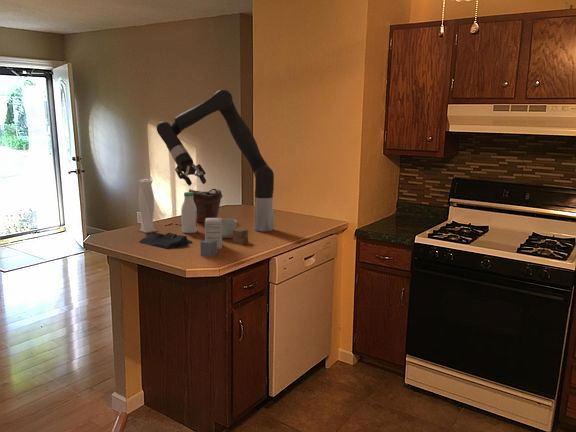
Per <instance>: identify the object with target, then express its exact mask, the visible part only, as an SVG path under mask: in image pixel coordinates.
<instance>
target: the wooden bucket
mask: <svg viewBox="0 0 576 432" xmlns="http://www.w3.org/2000/svg"><path fill="white" fill-rule="evenodd" d="M188 192H193V194H194V195H193V196H194V197H193V200H194V203H195V205H196V208H197V223H205V219H206V218H218V215H219V210H220V206H221V200H222V198H223V194H222V190H221V189H216V188H212V189H210V190H209V191H200V190H193V189H191V188H189V189H188Z"/></svg>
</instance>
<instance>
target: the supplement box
mask: <svg viewBox="0 0 576 432" xmlns="http://www.w3.org/2000/svg"><path fill="white" fill-rule="evenodd" d="M222 219H223V218H222V217H217V218H206V219H205V222H204V240H206V239H209V240H216V241H217V250H218V249H219V250H220V249H222V247H223V238H222Z"/></svg>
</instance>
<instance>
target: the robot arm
mask: <svg viewBox="0 0 576 432" xmlns="http://www.w3.org/2000/svg"><path fill="white" fill-rule="evenodd" d="M218 111H219V112H220V114H221V116H222V117H223V118H224V120H225V122H226V124H227V127H228V129H229V132H230V134H231V136H232V138H233V141H234V142H235V144H236V145H237V147H238V149H239V150H240V151H241V153H242V154H243V156H244V158H245V159H246V160H247V161H248V163H249V165H250V167H251V170H252V172H253V174H254V178H255V183H254V184H255V189H254V231H257V232H271V231H273V230H274V228H275V227H274V225H275V223H274V222H275V220H274V219H275V216H274V215H275V211H274V210H273V208H274V207H273V205H274V202H273V199H274V187H275V186H274V185H275V184H274V182H275V181H274V179H275V174H274V171H273V169H272V168H270V166H269V165H268V163H267V162H266V161H265V159H264V158H263V156H262V154H261V152H260V149H259V145H258V144H257V141H256V139H255V137H254V135H253V133H252V131H251V130H250V127H249V126H248V125H247V123H246V122H245V120H244V119H243V118H242V116H241V115H240V114H239V112H238V111H237V108H236V106H235V104H234V101H233V95H232V94H231V92H230V91H229V90H227V89H219V90H217V91H216V92H215V93H214V94H213V95H212V96H211V97H209V98H208V99H207V100H205V101H203V102H202V103H200V104H198V105H196V106H194V107H191V108H190V109H188V110H185V111H184V112H182V113H180V114H178V115H176V116H175V117H174V122H173V123H171V124H170V123H169V122H168V121H167V120H162V121H159V122H158V123H157V125H156V132H157V134H158V135H159V136H160V138H161V140H162V141H163V142H164V144H165V145H166V148H167V149H168V151H169V153H170V155H171V157H172V159H173V161H174V162H175V164H176V168H175V169H174V171H175V172H176V174H177V176H178V179H179V180H184V181H185V183H186V185H188V186H189V187H190V186H191V185H192V184H193V182H192V180H191V179H190V177H189V176H190V175H192V176H195V177H198V178H199V180H200V182H201V183H202V184H203V185H205V184H206V183H207V179H206V178H205V175H206V171H205V169H204V168H203V166H202V165H201V164H200V163H198V164H197V165H196V164H194V160H193V158H192V156H191V155H190V153H189V151H188V150H187V148H186V147H185V146H184V144H183V142H182V141H181V139H180V138H179V137H178V135H180V134H181V133H182V132H183V130H185V129H188V128H189V127H191V126H193V125H195V124H196V123H198V122H199V121H201V120H202V119H204V118H205V117H208V116H209V115H212V114H213V113H215V112H218Z"/></svg>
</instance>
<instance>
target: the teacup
mask: <svg viewBox="0 0 576 432" xmlns="http://www.w3.org/2000/svg"><path fill="white" fill-rule="evenodd" d="M237 222H238V220H237V219H234V218H222V239H230V238H233V230H235V229H238V228H237V225H238V224H237Z"/></svg>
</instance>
